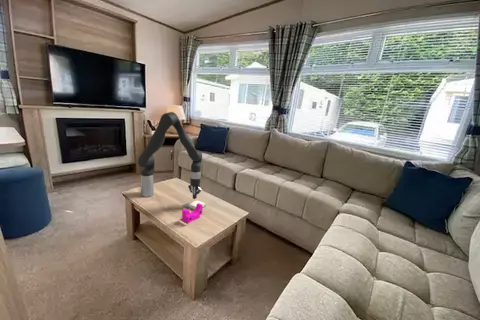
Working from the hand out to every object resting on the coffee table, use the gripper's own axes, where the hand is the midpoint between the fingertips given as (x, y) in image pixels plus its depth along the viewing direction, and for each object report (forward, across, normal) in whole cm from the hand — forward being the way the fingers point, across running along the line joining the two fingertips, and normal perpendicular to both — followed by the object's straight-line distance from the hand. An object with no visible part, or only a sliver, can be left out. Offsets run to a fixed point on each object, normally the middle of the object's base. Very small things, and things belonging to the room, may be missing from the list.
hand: (194, 198), depth 165 cm
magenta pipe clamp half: (+7, +12, -13) cm, 19 cm away
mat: (+6, 0, 0) cm, 6 cm away
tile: (+5, -2, 0) cm, 5 cm away
